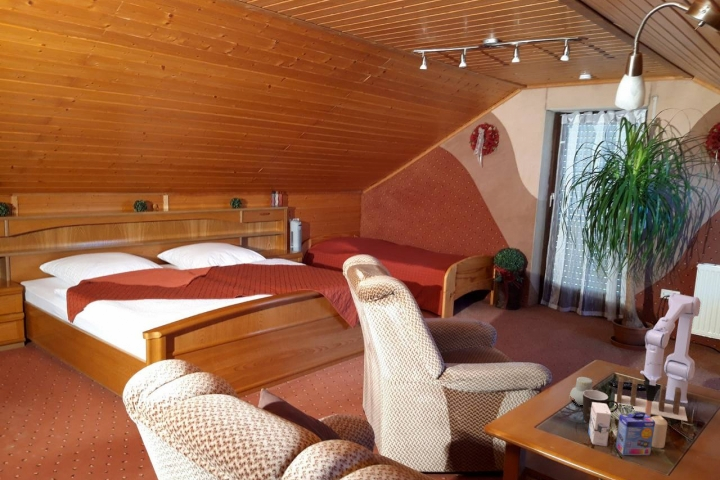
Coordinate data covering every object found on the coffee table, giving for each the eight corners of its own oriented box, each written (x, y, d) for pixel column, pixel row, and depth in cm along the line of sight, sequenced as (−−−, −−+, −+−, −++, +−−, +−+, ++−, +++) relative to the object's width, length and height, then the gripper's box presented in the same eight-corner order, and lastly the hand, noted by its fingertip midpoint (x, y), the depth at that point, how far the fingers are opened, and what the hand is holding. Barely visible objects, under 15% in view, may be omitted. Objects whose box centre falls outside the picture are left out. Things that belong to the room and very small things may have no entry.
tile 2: (658, 411, 221) (661, 389, 220) (658, 406, 226) (661, 384, 224) (663, 412, 220) (666, 389, 219) (662, 406, 225) (665, 385, 223)
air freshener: (575, 396, 233) (577, 372, 232) (596, 401, 229) (599, 378, 227) (567, 405, 225) (569, 381, 223) (589, 411, 220) (592, 386, 218)
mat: (614, 394, 236) (615, 393, 236) (684, 407, 225) (684, 407, 225) (614, 407, 224) (614, 406, 224) (687, 421, 214) (687, 420, 214)
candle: (649, 438, 200) (653, 411, 199) (666, 444, 197) (670, 417, 195) (643, 443, 197) (647, 416, 195) (661, 450, 193) (664, 422, 191)
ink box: (587, 432, 203) (591, 401, 201) (603, 434, 202) (606, 403, 200) (592, 444, 195) (595, 412, 193) (608, 446, 194) (611, 414, 192)
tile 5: (616, 402, 227) (618, 381, 226) (616, 398, 232) (619, 376, 230) (620, 403, 227) (623, 382, 225) (621, 398, 231) (623, 377, 230)
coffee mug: (576, 420, 212) (579, 394, 211) (585, 412, 219) (588, 387, 217) (608, 431, 205) (611, 405, 203) (617, 423, 211) (620, 397, 209)
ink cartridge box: (623, 456, 188) (627, 414, 186) (614, 447, 194) (618, 407, 191) (651, 455, 189) (657, 414, 187) (642, 446, 194) (647, 406, 192)
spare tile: (645, 419, 214) (647, 397, 213) (644, 414, 219) (647, 392, 217) (649, 420, 214) (652, 398, 212) (649, 415, 218) (652, 392, 217)
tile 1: (673, 414, 219) (676, 391, 218) (672, 408, 224) (675, 386, 222) (678, 414, 218) (681, 392, 217) (677, 409, 223) (680, 387, 221)
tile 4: (630, 405, 225) (632, 383, 224) (630, 400, 230) (632, 379, 228) (634, 406, 225) (637, 384, 223) (634, 401, 229) (637, 380, 228)
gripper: (641, 354, 221) (637, 387, 223) (642, 366, 208) (638, 401, 210) (662, 357, 218) (657, 391, 220) (664, 370, 205) (659, 406, 207)
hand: (649, 396), depth 215 cm, fingers open, 7 cm apart
